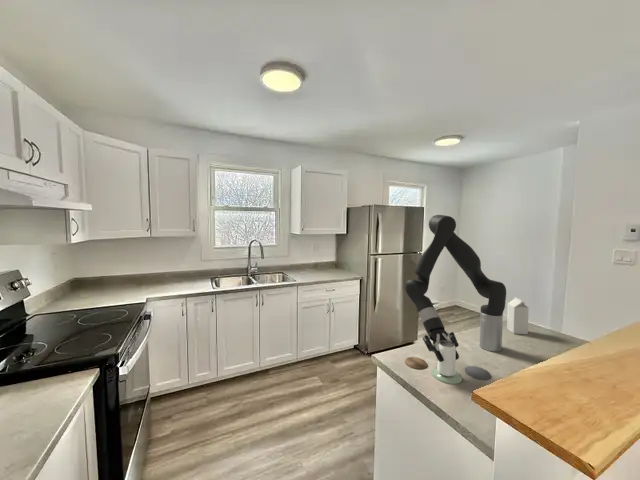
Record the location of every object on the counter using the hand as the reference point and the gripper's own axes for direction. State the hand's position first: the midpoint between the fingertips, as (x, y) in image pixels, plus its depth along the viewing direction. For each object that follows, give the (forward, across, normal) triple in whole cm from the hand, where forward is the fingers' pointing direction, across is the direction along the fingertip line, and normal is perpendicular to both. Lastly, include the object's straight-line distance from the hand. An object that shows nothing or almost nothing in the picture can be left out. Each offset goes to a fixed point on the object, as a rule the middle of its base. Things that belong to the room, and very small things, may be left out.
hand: (449, 360), depth 106 cm
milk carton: (-15, +68, +26) cm, 75 cm away
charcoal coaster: (+5, +13, +5) cm, 15 cm away
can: (+3, 0, +6) cm, 6 cm away
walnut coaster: (-4, -6, +15) cm, 16 cm away
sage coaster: (+4, 0, +6) cm, 8 cm away
